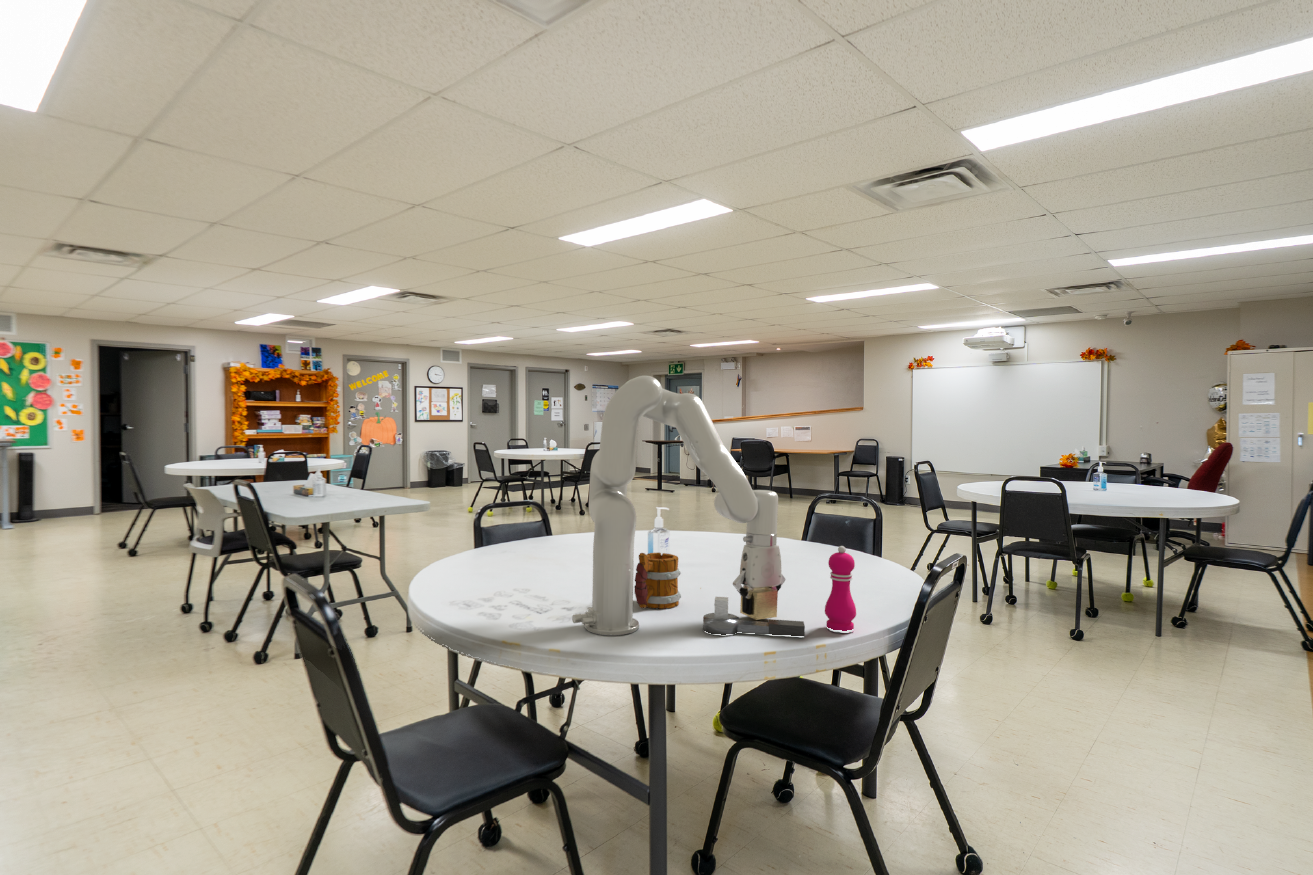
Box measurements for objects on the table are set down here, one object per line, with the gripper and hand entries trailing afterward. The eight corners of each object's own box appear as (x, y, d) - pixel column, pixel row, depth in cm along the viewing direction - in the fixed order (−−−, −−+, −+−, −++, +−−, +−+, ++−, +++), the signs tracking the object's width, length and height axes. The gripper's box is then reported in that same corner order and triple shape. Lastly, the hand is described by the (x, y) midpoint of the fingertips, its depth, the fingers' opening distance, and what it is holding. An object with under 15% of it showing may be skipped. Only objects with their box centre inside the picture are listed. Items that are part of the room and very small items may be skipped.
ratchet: (701, 634, 148) (702, 602, 148) (704, 623, 156) (705, 593, 156) (805, 641, 145) (806, 608, 144) (802, 630, 153) (803, 598, 153)
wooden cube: (756, 619, 156) (757, 593, 156) (740, 612, 162) (741, 587, 162) (776, 616, 160) (777, 590, 160) (760, 610, 165) (761, 584, 165)
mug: (687, 602, 175) (688, 547, 175) (653, 616, 162) (654, 557, 161) (654, 596, 181) (655, 542, 181) (619, 609, 168) (620, 551, 167)
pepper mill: (832, 623, 159) (833, 542, 159) (860, 629, 154) (862, 545, 154) (819, 629, 153) (821, 545, 153) (848, 636, 149) (850, 550, 148)
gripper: (742, 544, 153) (739, 619, 153) (798, 540, 162) (795, 612, 162) (723, 539, 160) (721, 611, 160) (778, 535, 168) (775, 604, 168)
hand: (758, 611), depth 161 cm, fingers closed on wooden cube, 6 cm apart
